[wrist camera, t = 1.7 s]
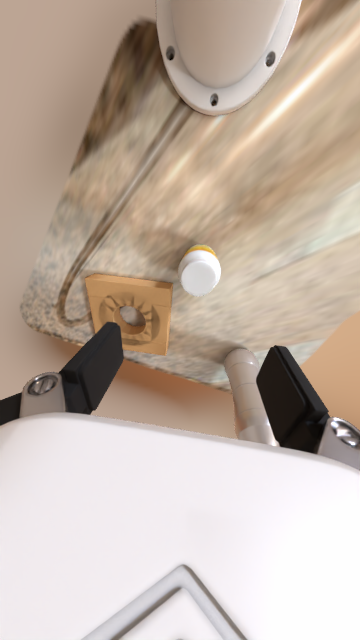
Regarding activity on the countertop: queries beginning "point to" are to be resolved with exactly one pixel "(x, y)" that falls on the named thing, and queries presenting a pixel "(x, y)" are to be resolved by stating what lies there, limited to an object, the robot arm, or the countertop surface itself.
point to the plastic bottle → (248, 398)
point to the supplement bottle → (199, 270)
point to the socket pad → (141, 295)
